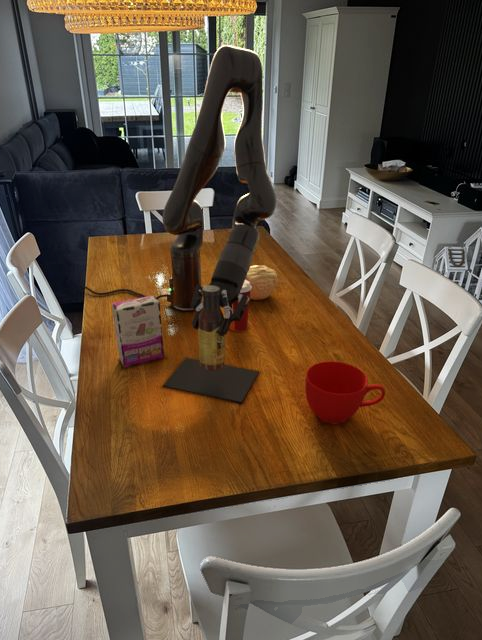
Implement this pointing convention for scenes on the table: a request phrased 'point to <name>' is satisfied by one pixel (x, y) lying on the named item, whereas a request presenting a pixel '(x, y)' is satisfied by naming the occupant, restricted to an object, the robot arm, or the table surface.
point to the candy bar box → (138, 330)
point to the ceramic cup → (337, 391)
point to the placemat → (212, 381)
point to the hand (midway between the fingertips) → (207, 331)
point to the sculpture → (261, 281)
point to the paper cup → (243, 323)
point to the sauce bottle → (211, 331)
